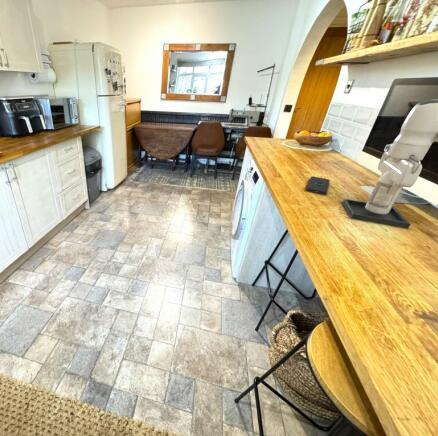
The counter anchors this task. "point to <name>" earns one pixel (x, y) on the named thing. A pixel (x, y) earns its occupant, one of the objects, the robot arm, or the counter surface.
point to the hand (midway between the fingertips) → (385, 189)
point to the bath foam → (382, 196)
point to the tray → (375, 214)
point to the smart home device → (318, 185)
